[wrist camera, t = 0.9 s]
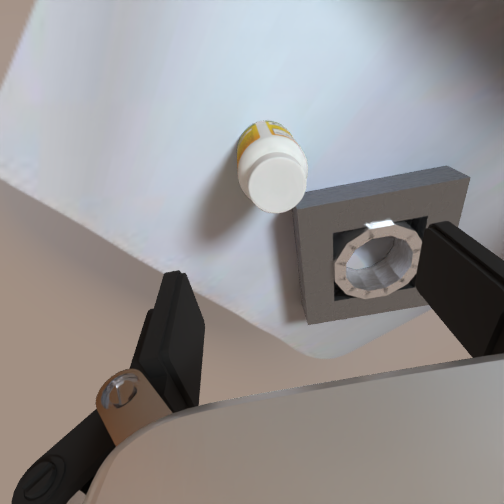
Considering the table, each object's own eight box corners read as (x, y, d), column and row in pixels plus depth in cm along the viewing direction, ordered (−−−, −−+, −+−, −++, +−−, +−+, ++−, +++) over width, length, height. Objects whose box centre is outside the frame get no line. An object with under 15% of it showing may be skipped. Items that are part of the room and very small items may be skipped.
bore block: (446, 165, 29) (474, 179, 26) (422, 284, 38) (441, 306, 35) (290, 194, 30) (298, 211, 27) (302, 305, 39) (309, 328, 36)
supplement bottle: (289, 113, 26) (315, 137, 18) (295, 171, 29) (320, 214, 21) (230, 126, 26) (229, 156, 18) (242, 182, 29) (247, 229, 21)
